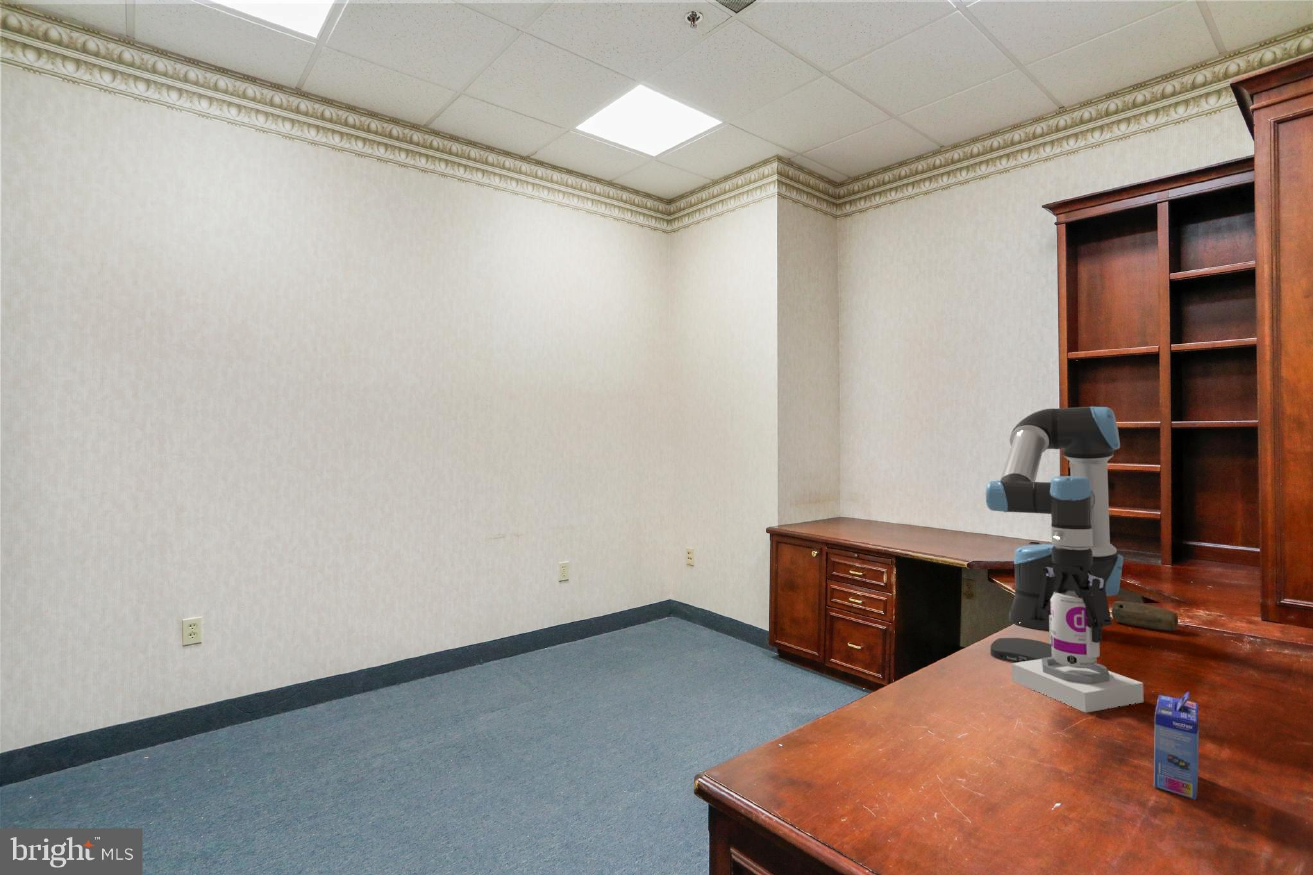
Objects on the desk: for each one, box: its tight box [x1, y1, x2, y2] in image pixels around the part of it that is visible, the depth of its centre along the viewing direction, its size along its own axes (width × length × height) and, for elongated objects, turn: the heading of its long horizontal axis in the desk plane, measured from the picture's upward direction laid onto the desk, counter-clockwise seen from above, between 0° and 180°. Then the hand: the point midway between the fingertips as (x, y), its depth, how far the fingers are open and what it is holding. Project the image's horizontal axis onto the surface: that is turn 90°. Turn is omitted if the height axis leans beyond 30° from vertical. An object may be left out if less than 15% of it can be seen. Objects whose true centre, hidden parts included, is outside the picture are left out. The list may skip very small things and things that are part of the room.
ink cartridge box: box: [1153, 691, 1200, 801], centre depth 102 cm, size 10×6×14 cm, turn 139°
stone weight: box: [1111, 600, 1179, 632], centre depth 183 cm, size 15×7×7 cm, turn 45°
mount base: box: [1011, 657, 1145, 714], centre depth 138 cm, size 18×16×6 cm
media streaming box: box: [990, 637, 1052, 663], centre depth 161 cm, size 15×15×3 cm
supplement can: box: [1051, 591, 1098, 668], centre depth 138 cm, size 8×8×15 cm
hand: (1073, 649), depth 138 cm, fingers closed on supplement can, 8 cm apart
